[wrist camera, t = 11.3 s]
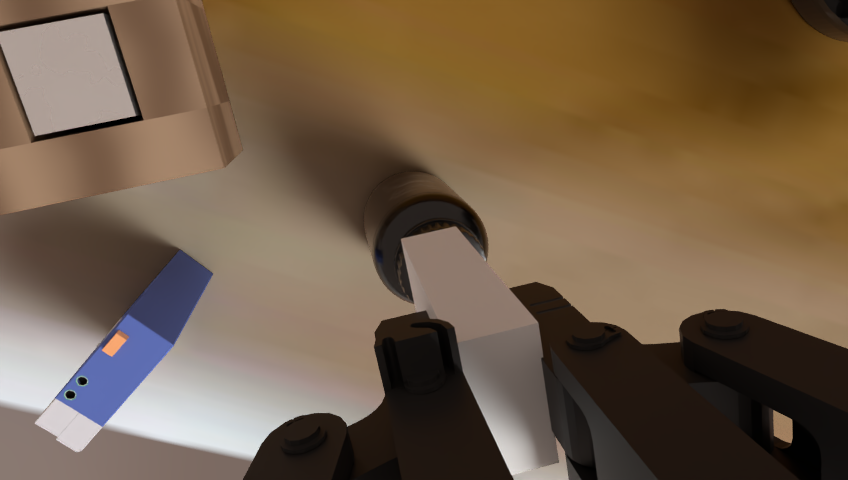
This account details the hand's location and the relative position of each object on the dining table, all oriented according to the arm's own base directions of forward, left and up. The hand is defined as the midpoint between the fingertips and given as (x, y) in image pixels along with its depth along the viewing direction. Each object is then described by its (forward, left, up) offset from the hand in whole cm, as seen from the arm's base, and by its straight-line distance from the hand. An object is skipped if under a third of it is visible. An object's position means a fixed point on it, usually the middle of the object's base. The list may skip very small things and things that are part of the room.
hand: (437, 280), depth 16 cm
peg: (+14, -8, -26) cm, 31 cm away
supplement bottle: (-2, +5, -27) cm, 27 cm away
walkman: (+16, +7, -27) cm, 32 cm away
